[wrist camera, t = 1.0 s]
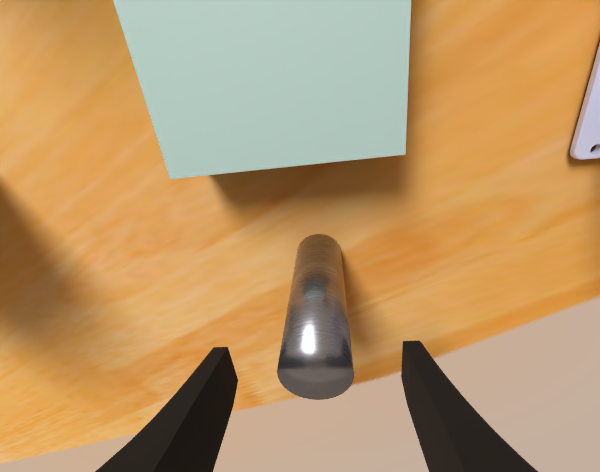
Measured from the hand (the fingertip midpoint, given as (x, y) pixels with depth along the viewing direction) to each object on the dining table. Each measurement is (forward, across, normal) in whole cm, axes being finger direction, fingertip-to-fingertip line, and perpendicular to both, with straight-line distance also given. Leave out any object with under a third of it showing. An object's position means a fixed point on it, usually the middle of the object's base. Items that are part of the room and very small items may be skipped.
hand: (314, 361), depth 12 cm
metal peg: (+9, 0, 0) cm, 9 cm away
